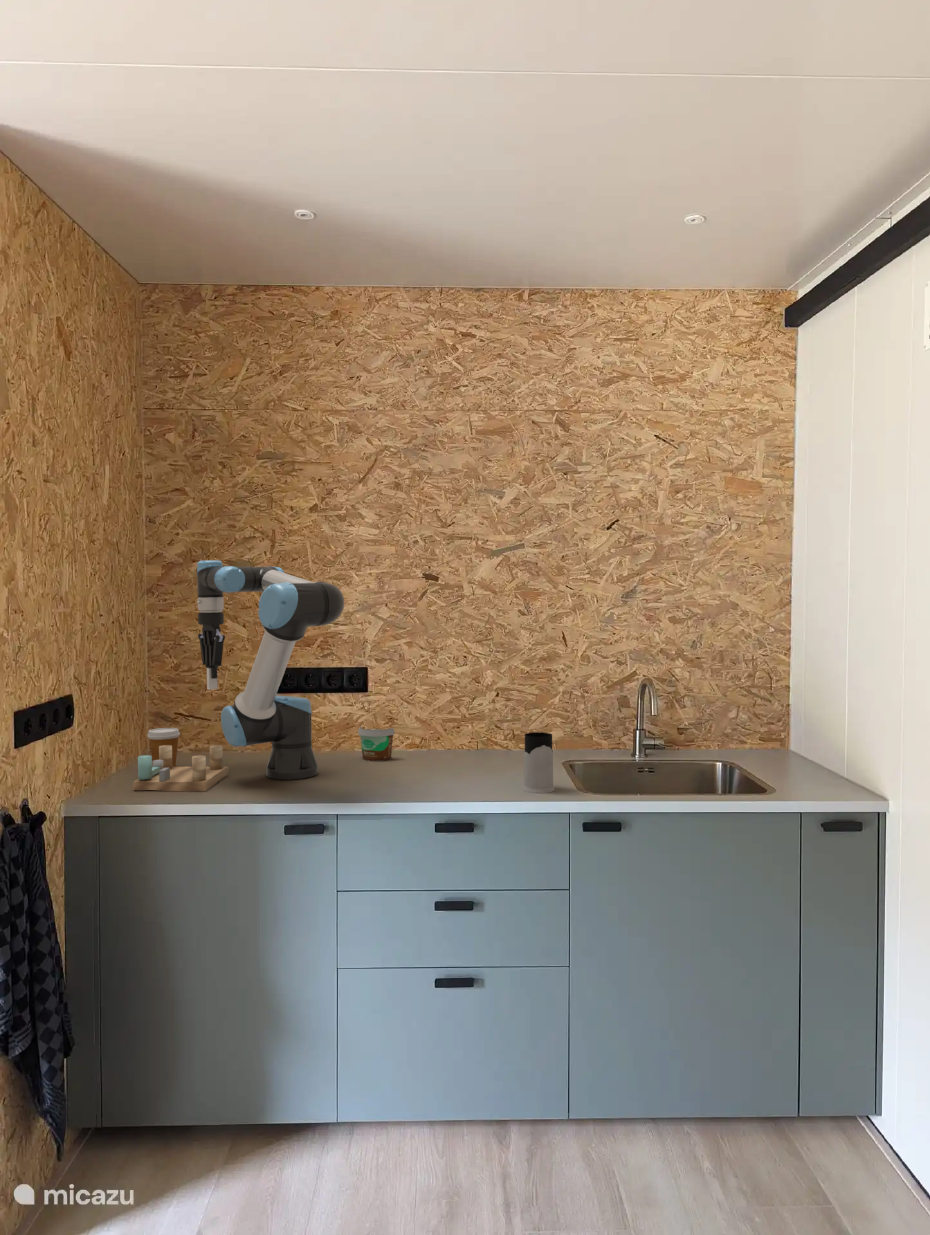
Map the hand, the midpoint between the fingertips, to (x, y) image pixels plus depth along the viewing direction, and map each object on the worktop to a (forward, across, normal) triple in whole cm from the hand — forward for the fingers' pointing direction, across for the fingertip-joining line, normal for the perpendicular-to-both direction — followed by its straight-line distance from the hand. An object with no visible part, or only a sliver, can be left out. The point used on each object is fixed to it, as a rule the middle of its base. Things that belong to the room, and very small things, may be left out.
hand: (212, 689), depth 277 cm
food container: (+25, +23, +43) cm, 55 cm away
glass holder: (+25, +85, +52) cm, 103 cm away
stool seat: (+24, +11, -16) cm, 31 cm away
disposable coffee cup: (+25, -10, -11) cm, 29 cm away
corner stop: (+22, +15, -22) cm, 35 cm away
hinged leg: (+21, +8, -23) cm, 33 cm away
